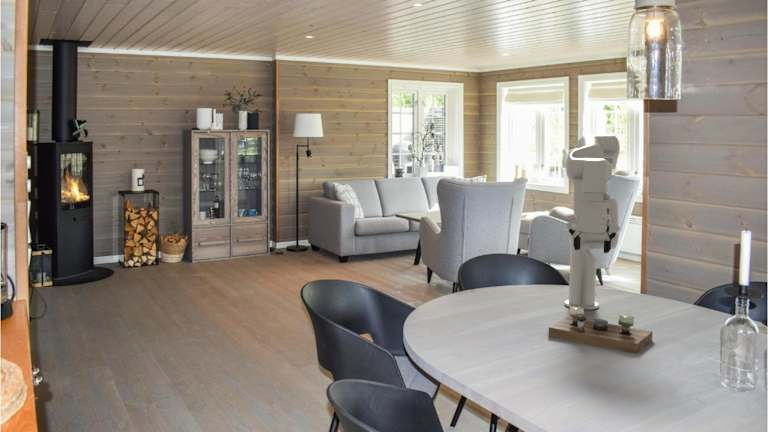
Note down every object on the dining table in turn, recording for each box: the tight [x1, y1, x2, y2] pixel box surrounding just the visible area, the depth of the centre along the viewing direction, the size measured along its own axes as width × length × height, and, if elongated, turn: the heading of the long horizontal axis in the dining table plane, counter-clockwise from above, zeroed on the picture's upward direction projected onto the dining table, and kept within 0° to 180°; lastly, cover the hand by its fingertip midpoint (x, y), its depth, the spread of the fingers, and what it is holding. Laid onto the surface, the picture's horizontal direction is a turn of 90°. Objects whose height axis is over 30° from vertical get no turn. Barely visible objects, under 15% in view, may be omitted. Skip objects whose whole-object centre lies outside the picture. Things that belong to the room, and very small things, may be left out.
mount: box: [548, 316, 654, 354], centre depth 224 cm, size 16×28×3 cm, turn 54°
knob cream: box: [568, 307, 585, 325], centre depth 228 cm, size 4×4×5 cm
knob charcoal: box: [592, 318, 609, 331], centre depth 223 cm, size 4×4×5 cm
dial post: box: [576, 315, 588, 333], centre depth 220 cm, size 3×3×5 cm
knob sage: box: [618, 314, 635, 334], centre depth 218 cm, size 4×4×5 cm
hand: (591, 251), depth 225 cm, fingers open, 9 cm apart
